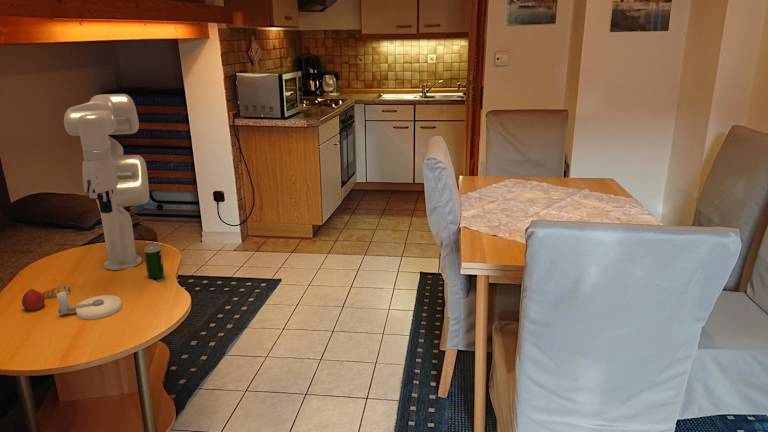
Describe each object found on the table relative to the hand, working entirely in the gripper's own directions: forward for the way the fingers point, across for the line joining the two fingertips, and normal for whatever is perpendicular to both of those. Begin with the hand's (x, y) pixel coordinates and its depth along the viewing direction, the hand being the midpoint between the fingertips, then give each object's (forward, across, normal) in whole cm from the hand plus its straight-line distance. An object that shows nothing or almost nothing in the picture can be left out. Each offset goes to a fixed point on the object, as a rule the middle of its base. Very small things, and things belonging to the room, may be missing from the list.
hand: (106, 212), depth 171 cm
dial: (+26, +17, +4) cm, 31 cm away
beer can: (+27, -11, +6) cm, 30 cm away
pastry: (+28, +9, -15) cm, 33 cm away
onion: (+27, +19, -15) cm, 36 cm away
